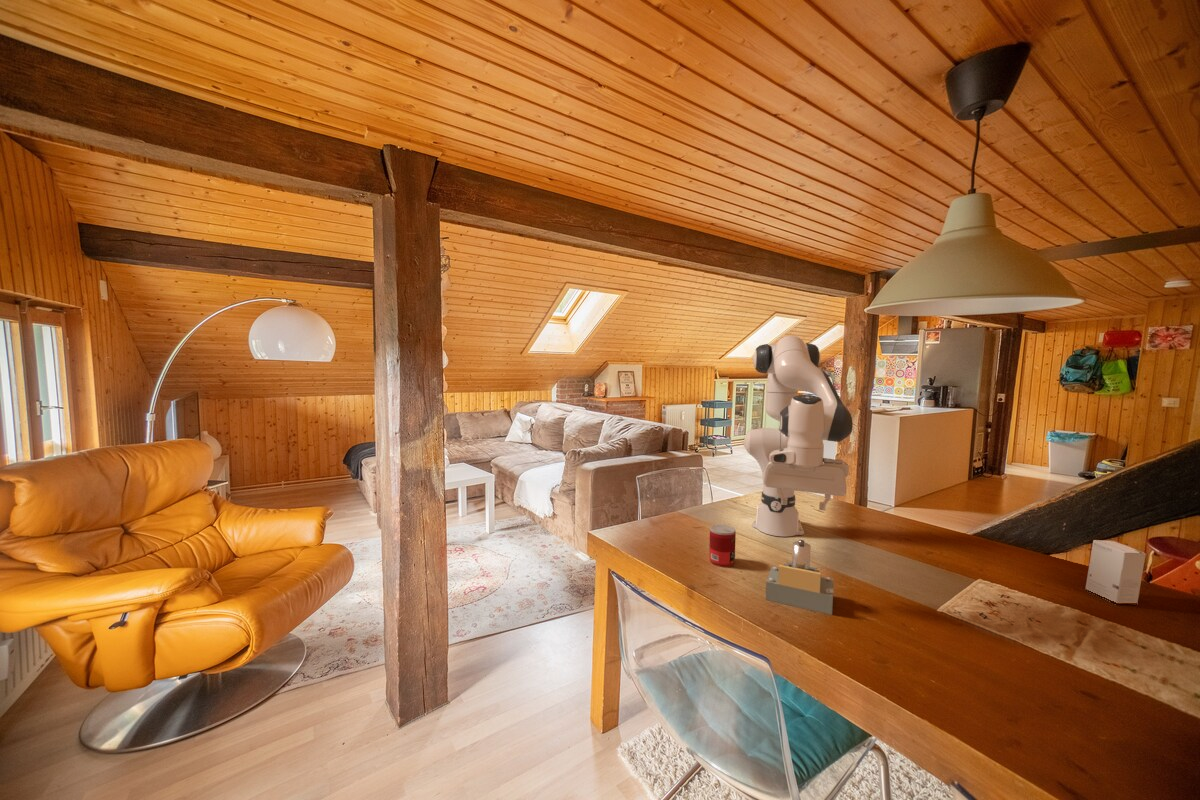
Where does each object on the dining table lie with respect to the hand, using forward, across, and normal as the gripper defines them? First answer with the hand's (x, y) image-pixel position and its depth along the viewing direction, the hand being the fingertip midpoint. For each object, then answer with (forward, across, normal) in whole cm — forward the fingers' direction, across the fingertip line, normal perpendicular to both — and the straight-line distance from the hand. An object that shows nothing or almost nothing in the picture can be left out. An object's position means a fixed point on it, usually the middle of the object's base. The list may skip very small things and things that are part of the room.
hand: (802, 507), depth 123 cm
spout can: (+20, 0, +1) cm, 20 cm away
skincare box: (+26, -75, -39) cm, 89 cm away
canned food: (+26, +24, -12) cm, 37 cm away
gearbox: (+25, 0, +1) cm, 25 cm away
